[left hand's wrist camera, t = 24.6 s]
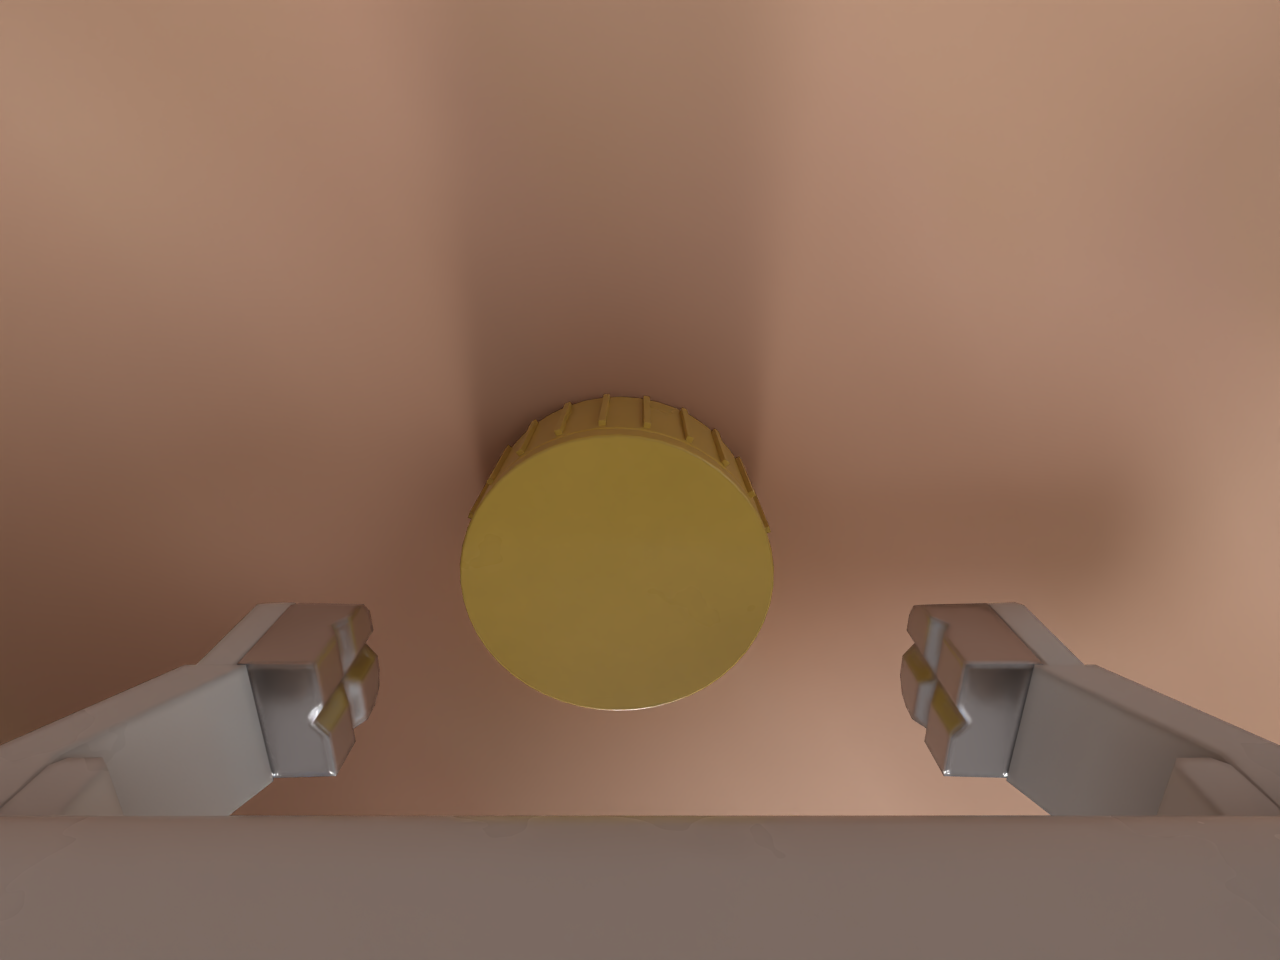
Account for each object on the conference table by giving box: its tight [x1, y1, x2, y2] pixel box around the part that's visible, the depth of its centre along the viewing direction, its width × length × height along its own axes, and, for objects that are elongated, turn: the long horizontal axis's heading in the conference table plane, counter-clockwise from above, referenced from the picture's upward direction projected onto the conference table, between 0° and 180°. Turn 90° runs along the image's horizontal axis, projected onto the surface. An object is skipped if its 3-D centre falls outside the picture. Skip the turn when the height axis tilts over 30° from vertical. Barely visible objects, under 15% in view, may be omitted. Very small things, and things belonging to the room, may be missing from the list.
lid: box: [460, 394, 774, 711], centre depth 12 cm, size 5×5×2 cm
